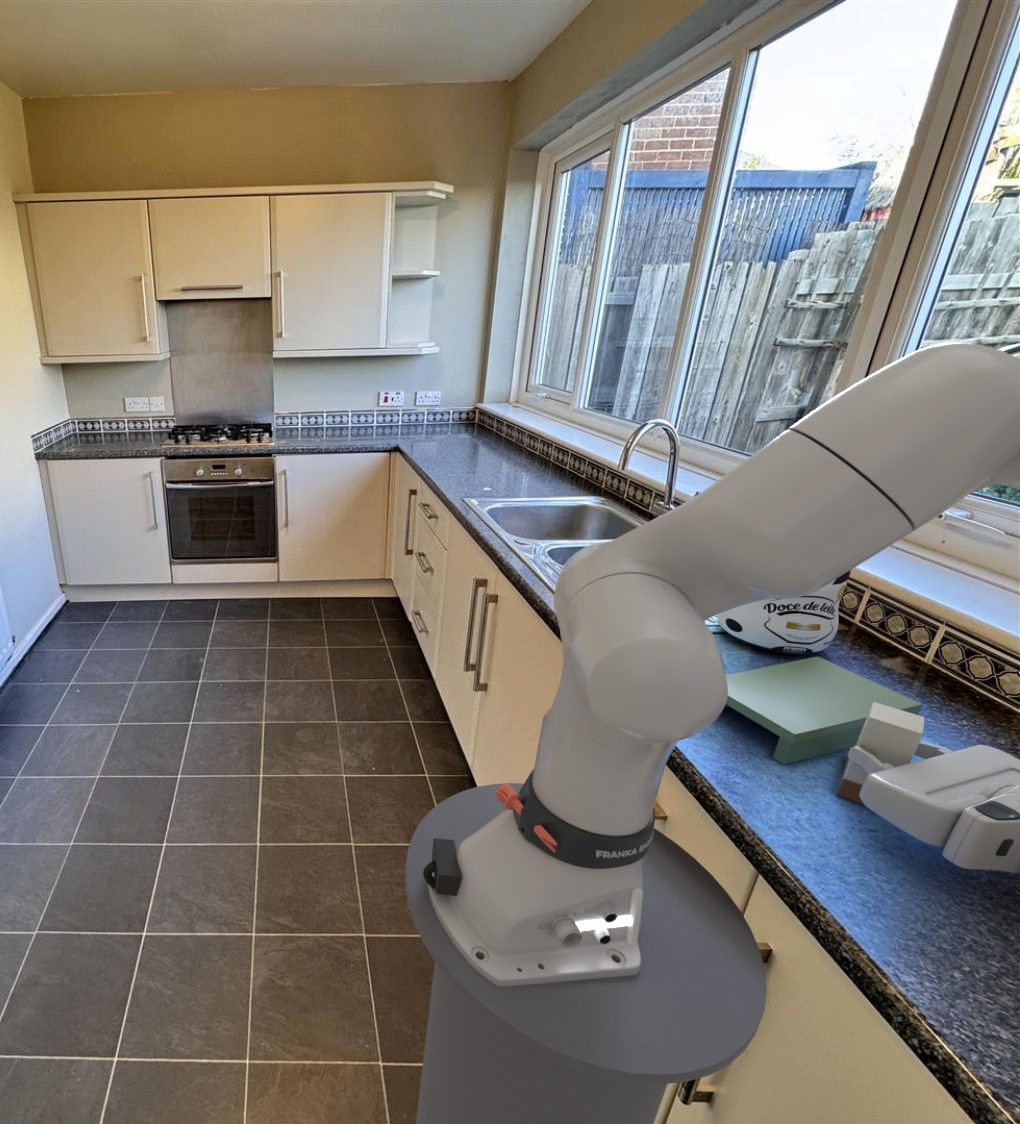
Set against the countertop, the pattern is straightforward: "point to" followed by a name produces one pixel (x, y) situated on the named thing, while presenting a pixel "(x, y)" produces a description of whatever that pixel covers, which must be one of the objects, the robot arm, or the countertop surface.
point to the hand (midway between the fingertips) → (874, 744)
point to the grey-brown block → (883, 744)
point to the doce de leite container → (788, 621)
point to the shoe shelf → (810, 705)
